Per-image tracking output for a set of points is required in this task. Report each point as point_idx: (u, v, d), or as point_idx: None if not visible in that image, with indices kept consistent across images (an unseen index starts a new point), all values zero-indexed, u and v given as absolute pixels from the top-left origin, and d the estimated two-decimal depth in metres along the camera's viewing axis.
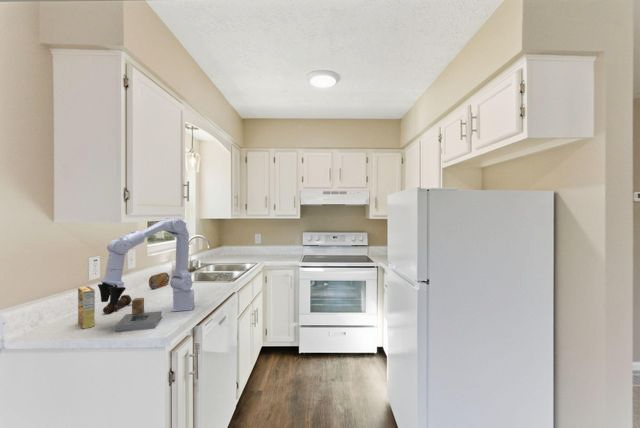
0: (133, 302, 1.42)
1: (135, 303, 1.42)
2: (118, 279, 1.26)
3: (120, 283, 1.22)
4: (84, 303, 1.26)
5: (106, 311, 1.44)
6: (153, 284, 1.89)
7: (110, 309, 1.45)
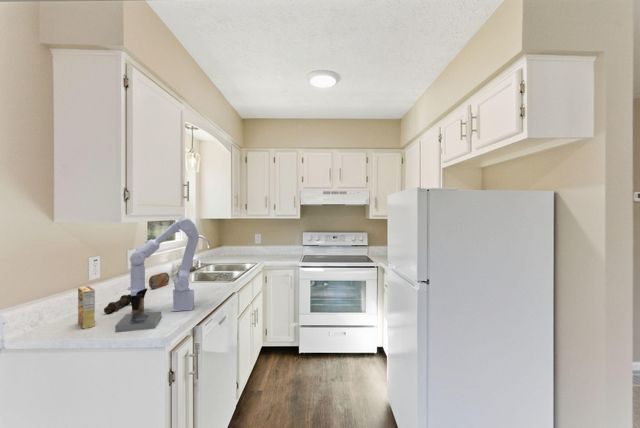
0: None
1: None
2: (138, 287, 1.42)
3: (132, 292, 1.37)
4: (84, 303, 1.26)
5: (107, 311, 1.44)
6: (153, 284, 1.89)
7: (111, 309, 1.45)
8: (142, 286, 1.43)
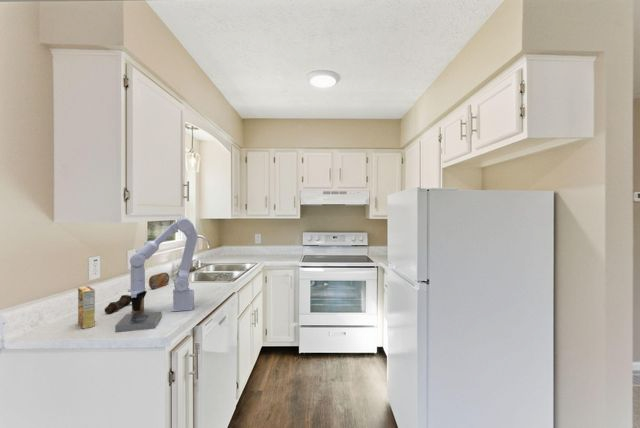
0: None
1: None
2: (138, 289, 1.42)
3: (132, 294, 1.37)
4: (84, 303, 1.26)
5: (108, 311, 1.44)
6: (153, 284, 1.89)
7: (112, 309, 1.45)
8: (142, 288, 1.43)
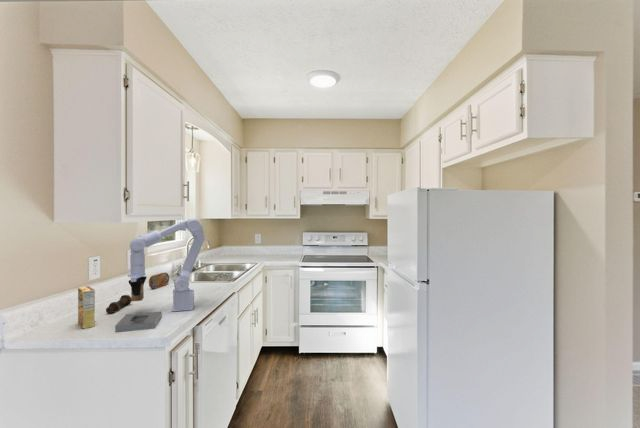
0: None
1: None
2: (138, 274, 1.41)
3: (132, 278, 1.37)
4: (84, 303, 1.26)
5: (109, 311, 1.44)
6: (153, 284, 1.89)
7: (113, 309, 1.45)
8: (142, 273, 1.43)
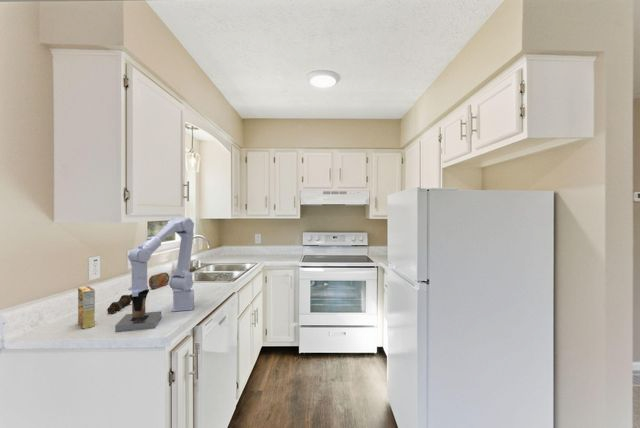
0: None
1: None
2: (140, 287, 1.29)
3: (133, 292, 1.25)
4: (84, 303, 1.26)
5: (111, 311, 1.44)
6: (153, 284, 1.89)
7: (114, 309, 1.45)
8: (144, 286, 1.31)
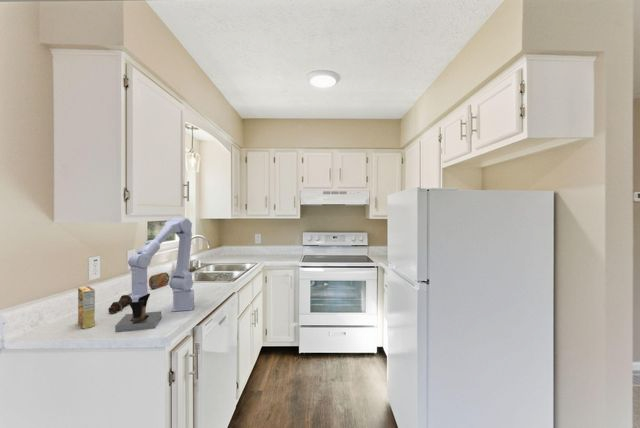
0: None
1: None
2: (140, 292, 1.29)
3: (134, 298, 1.25)
4: (84, 303, 1.26)
5: (112, 311, 1.44)
6: (153, 284, 1.89)
7: (116, 309, 1.46)
8: (144, 291, 1.31)
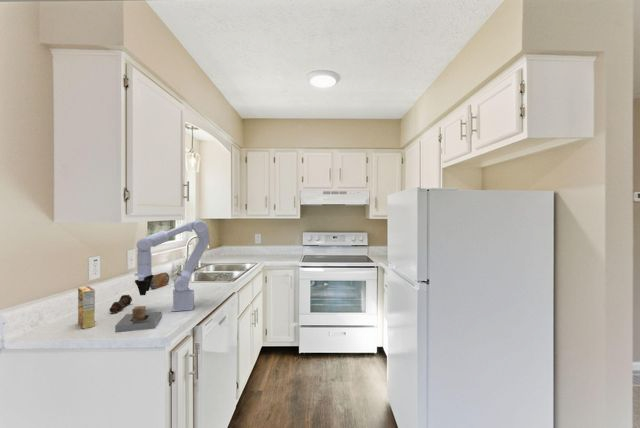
0: (134, 311, 1.29)
1: (136, 312, 1.30)
2: (145, 273, 1.43)
3: (140, 277, 1.38)
4: (84, 303, 1.26)
5: (113, 311, 1.45)
6: (153, 284, 1.89)
7: (117, 308, 1.46)
8: (149, 272, 1.44)
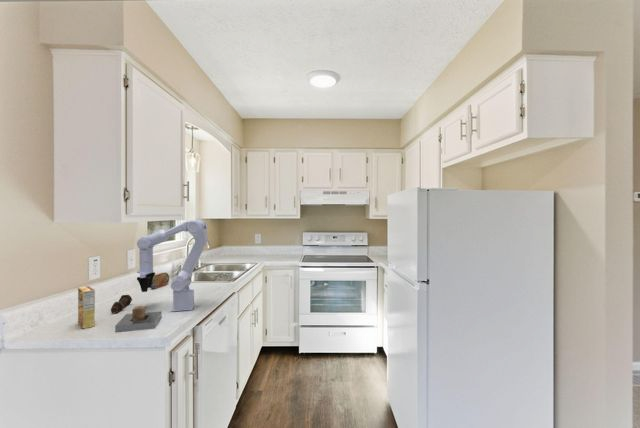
0: (134, 311, 1.29)
1: (136, 312, 1.30)
2: (146, 270, 1.49)
3: (141, 274, 1.44)
4: (84, 303, 1.26)
5: (115, 310, 1.45)
6: (153, 284, 1.89)
7: (118, 308, 1.46)
8: (150, 269, 1.50)
